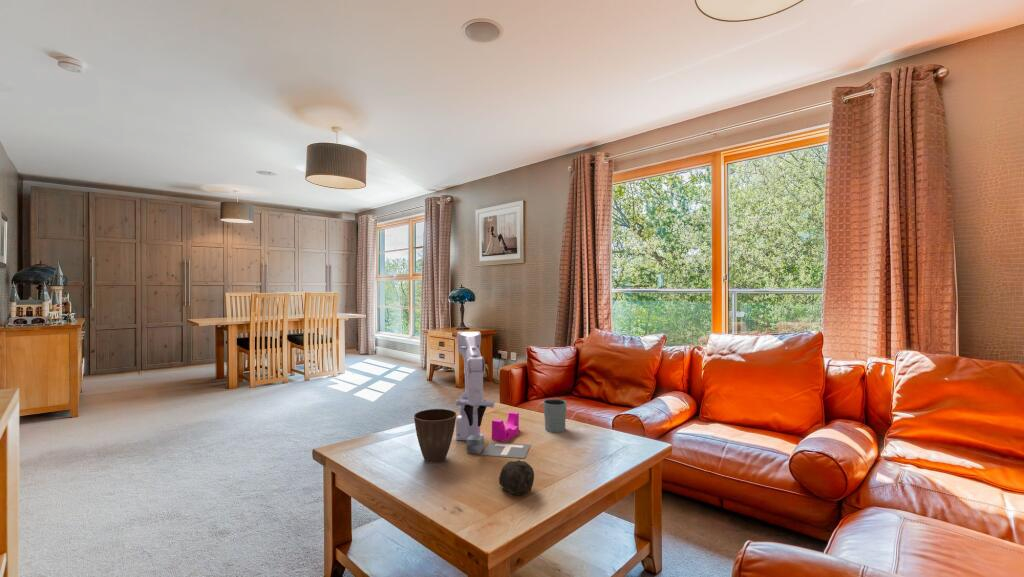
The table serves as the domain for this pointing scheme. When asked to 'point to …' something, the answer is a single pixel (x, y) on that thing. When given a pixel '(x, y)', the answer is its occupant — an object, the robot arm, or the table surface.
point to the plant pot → (435, 433)
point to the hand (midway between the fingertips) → (475, 425)
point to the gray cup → (555, 415)
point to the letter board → (506, 450)
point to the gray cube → (474, 444)
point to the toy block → (505, 427)
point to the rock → (517, 477)
